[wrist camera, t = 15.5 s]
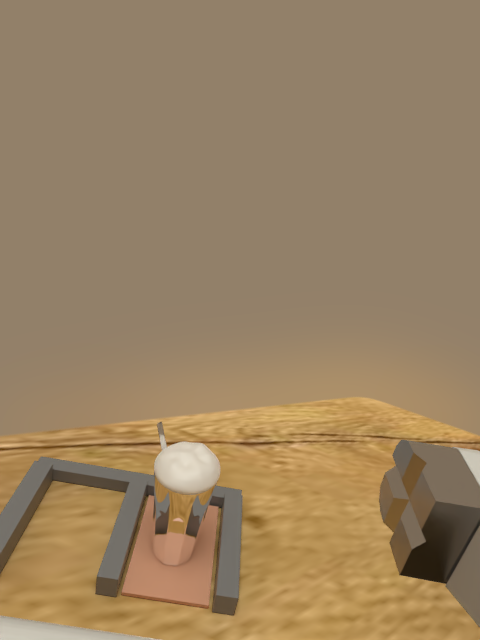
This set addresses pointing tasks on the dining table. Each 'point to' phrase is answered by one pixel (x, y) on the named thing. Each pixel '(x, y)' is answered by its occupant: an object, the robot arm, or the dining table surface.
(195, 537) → the milkshake
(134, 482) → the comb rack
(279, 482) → the dining table surface
